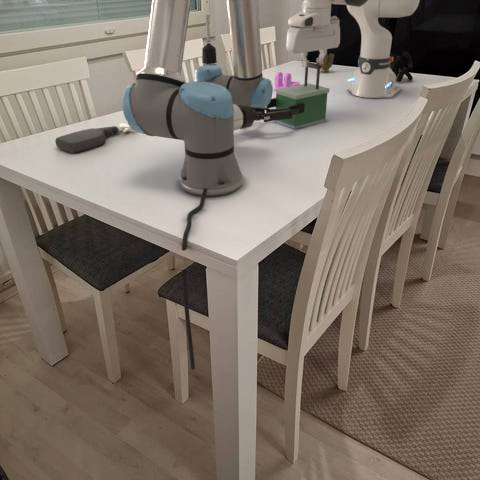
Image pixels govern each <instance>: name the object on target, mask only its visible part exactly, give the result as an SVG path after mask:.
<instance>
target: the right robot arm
mask: <svg viewBox="0 0 480 480" xmlns="http://www.w3.org/2000/svg"><path fill="white" fill-rule="evenodd" d="M420 1H421V0H303V1H302V4H301V11H298V13H296V14H295V15H293V16H290V17H289V18H288V21H287V24H288V26H289V27H288V29H287V31H286V32H287V33H286V44H285V45H286V51H287V53H288V54H292V55H296V54H297V55H298V54H299V57H300V60H301V66H302V67H303V68H305V67H308V66H309V62H310V60H308V58H307V56H308V55H309V54H308V53H309V52H316V51H318V52H319V54H320V55H319V54H318V57H317V58H316V61H315V64H323V59H324V57H325V55H326V53H327V54H328V50H329V49H337V48H338V47H339V46H340V43H341V26H340V19H339V17H337V16H336V15H333V16H331V13H332V5H344V6H346V9H347V11H348V13H349V14H350V15H351V16H352V17H353V19H355V21H356V22H357V24H358V26H359V29H360V35H361V36H360V37H361V40H360V42H361V43H360V52H359V53H360V54H359V56H358V60H357V68H356V69H355V70H354V73H353V77H352V78H349V79H347V82H350V81H352V83H351V86H350V87H349V88H348V92H350V93H351V94H352V95H353V96H355V97H360V98H366V99H367V98H368V99H378V98H379V99H380V98H381V99H382V98H384V99H386V98H387V99H389V98H393V97H394V96H395V95H396V94H398V93H399V92H400V91H401V87H400V86H397V85H396V81H397V77H396V75H395V74H394V72H393V71H392V68H391V65H390V63H391V62H393V63H394V61H395V60H394V58H393V57H390V53H391V49H392V43H393V42H392V41H393V36H392V33H391V31H389V30H388V29H386V28H385V27H383V26H381V24H380V23H379V18H391V19H393V18H396V19H397V18H404V17H410V16H412V15H413V14H414V13H415V12H416V10H417V9H418V7H419V4H420ZM308 68H309V67H308ZM401 71H402V70H401V69H400V68H399V72H398V74H399V73H400V72H401Z"/></svg>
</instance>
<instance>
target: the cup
mask: <svg viewBox="0 0 480 480" xmlns="http://www.w3.org/2000/svg"><path fill="white" fill-rule="evenodd" d="M319 55H320V53H319V54H318V56H319ZM334 59H335V54H334V53H329V54H328V52H327V53H326V55H325V57H324V59H323V64H320V65H321V66H322V67H321V69H320V72H322V73H328V72H329V71H330V69H331V68H332V67H333V63H334Z"/></svg>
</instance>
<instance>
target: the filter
mask: <svg viewBox="0 0 480 480" xmlns="http://www.w3.org/2000/svg"><path fill="white" fill-rule="evenodd" d="M210 17H211V14H204V18H205V27H206V29H205V30H206V31H205V33H206V39H207V40H206V42H207V43H206V45H204V46H202V49H201V50H202V51H201V52H202V54H201V55H202V57H201V58H202V61H201V63H202V66H205V65H215V66H218V64H216V63H218V61H217V48H216V47H215V46H214V45H212V43H210V42H211V40H210V39H211V31H210V29H211V28H210Z"/></svg>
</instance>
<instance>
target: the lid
mask: <svg viewBox="0 0 480 480" xmlns="http://www.w3.org/2000/svg"><path fill="white" fill-rule="evenodd" d="M321 67H322V66H321V65H320V64H316V62H310V61H309V66H308V67H304V83H303V84H300V85H297V86H292V87H287V88H282V89H277V90H275V95H276V94H280V95H283V96H286V97H289V98H293V99H296V100H297V99H301V98H306V97H310V96H315V95H320V94H324V93H328V94H329V93H330V88H329V87H326V86H322V85H320V77H321V76H320V74H321V70H322V68H321ZM309 68H310V69H313V70H314V69H315V70H316V81H315V84H314V83H310V82H308V80H309V79H308V78H309V77H308V76H309Z"/></svg>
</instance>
